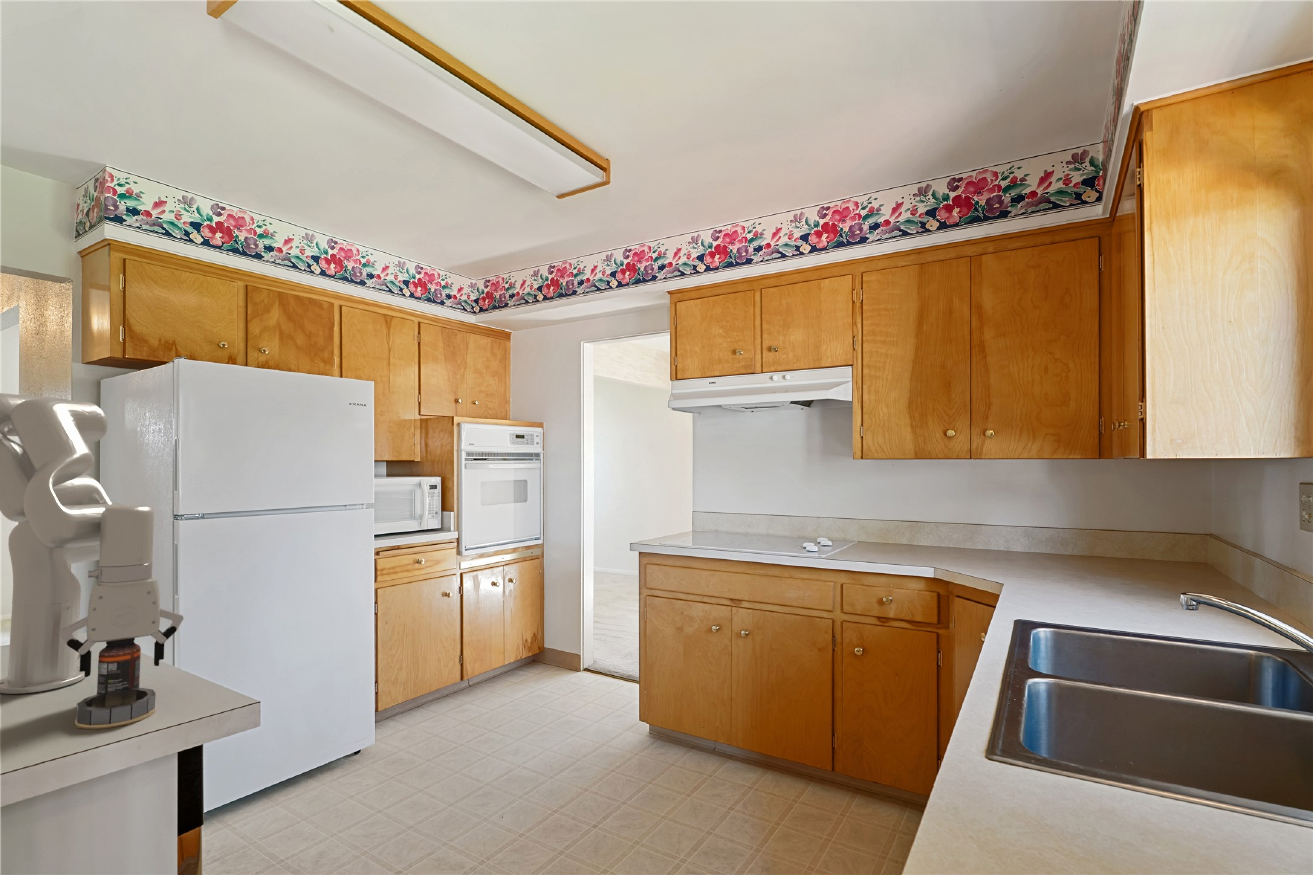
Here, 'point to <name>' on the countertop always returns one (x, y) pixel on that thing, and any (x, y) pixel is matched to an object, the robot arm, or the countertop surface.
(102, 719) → the mount collar
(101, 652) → the supplement bottle
